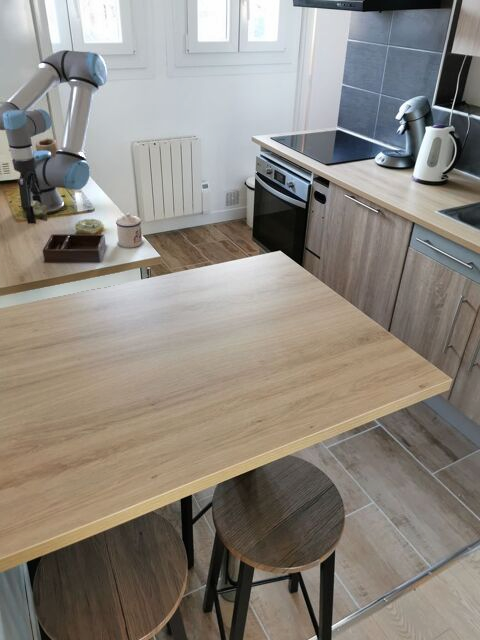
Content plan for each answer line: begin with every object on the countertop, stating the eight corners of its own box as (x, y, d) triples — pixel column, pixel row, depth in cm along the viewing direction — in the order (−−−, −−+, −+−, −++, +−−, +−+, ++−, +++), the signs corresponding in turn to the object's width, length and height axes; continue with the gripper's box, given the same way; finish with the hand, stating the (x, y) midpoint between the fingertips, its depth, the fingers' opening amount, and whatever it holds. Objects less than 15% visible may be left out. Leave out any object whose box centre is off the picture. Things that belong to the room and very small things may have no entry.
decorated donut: (96, 238, 196) (95, 229, 194) (71, 234, 198) (69, 225, 196) (109, 227, 204) (107, 218, 202) (84, 224, 206) (83, 215, 204)
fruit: (27, 228, 189) (18, 208, 185) (25, 220, 197) (16, 201, 192) (52, 220, 192) (43, 199, 187) (49, 212, 199) (40, 193, 195)
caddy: (53, 245, 190) (51, 234, 187) (105, 245, 191) (104, 234, 188) (44, 262, 179) (42, 250, 176) (100, 262, 180) (98, 250, 178)
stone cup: (39, 174, 255) (33, 143, 246) (37, 167, 264) (32, 137, 255) (71, 171, 259) (66, 141, 251) (68, 164, 269) (64, 135, 260)
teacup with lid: (138, 249, 189) (136, 219, 183) (114, 247, 190) (111, 217, 184) (147, 235, 199) (145, 207, 193) (125, 233, 200) (122, 205, 194)
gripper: (21, 148, 190) (33, 205, 203) (2, 168, 172) (16, 230, 184) (42, 148, 191) (53, 205, 203) (25, 168, 172) (38, 230, 185)
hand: (35, 217), depth 194 cm, fingers closed on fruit, 10 cm apart
